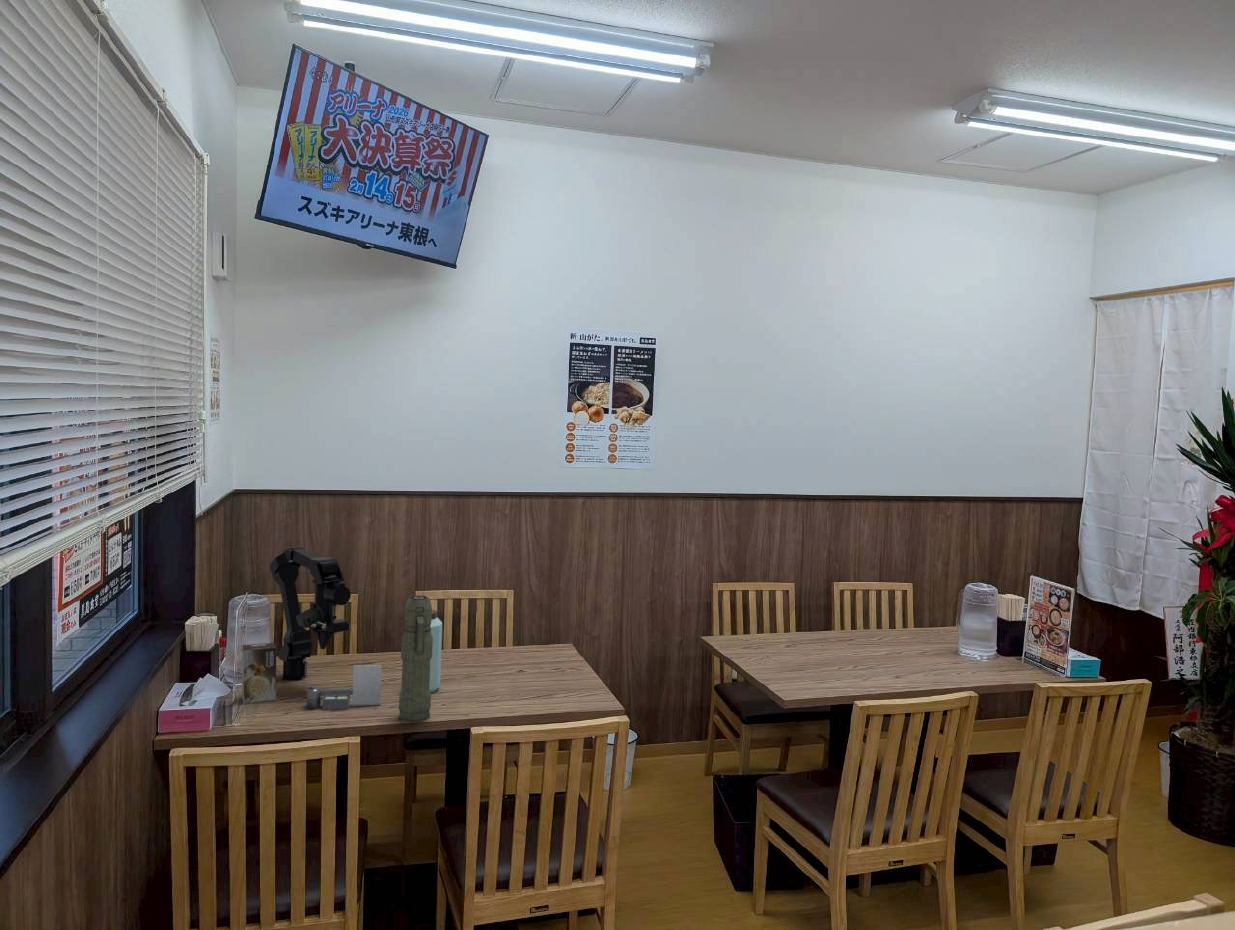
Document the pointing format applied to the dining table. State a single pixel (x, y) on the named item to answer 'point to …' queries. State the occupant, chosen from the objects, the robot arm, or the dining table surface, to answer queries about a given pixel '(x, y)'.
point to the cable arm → (362, 691)
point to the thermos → (416, 660)
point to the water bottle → (435, 652)
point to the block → (336, 702)
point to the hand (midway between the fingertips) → (322, 649)
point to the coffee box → (259, 673)
